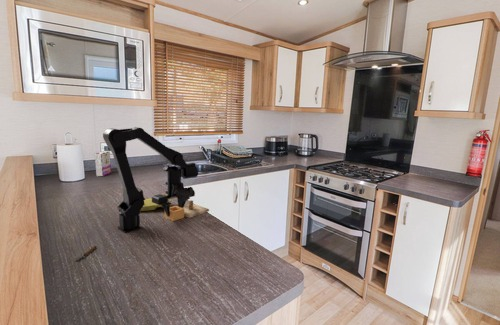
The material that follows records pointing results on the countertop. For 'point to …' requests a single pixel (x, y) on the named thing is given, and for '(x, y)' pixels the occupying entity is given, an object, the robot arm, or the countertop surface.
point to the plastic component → (151, 204)
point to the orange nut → (175, 213)
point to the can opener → (86, 253)
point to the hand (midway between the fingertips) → (174, 214)
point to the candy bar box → (102, 163)
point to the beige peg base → (193, 209)
